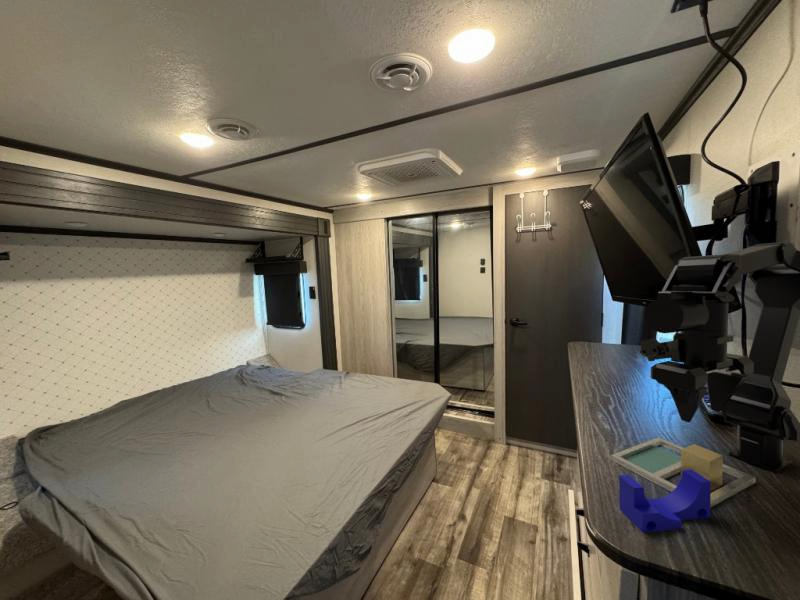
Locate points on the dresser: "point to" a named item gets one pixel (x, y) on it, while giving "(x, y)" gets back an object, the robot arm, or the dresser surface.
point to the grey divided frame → (673, 467)
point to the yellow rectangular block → (703, 464)
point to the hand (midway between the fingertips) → (701, 416)
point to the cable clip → (665, 503)
